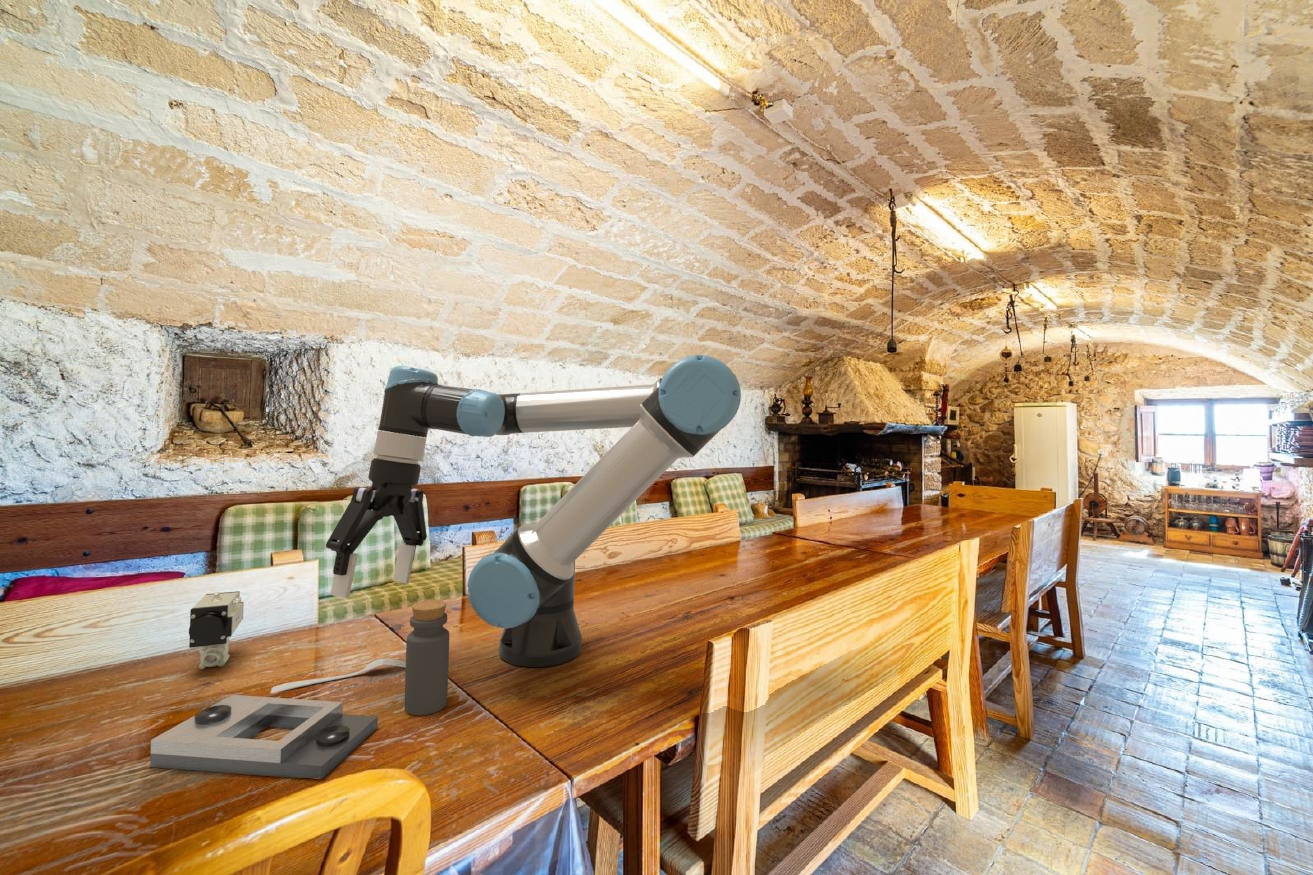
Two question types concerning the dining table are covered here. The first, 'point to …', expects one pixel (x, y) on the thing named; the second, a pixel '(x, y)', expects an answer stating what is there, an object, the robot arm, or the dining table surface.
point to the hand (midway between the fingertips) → (372, 588)
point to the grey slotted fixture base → (226, 745)
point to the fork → (313, 681)
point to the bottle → (427, 659)
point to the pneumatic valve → (215, 626)
